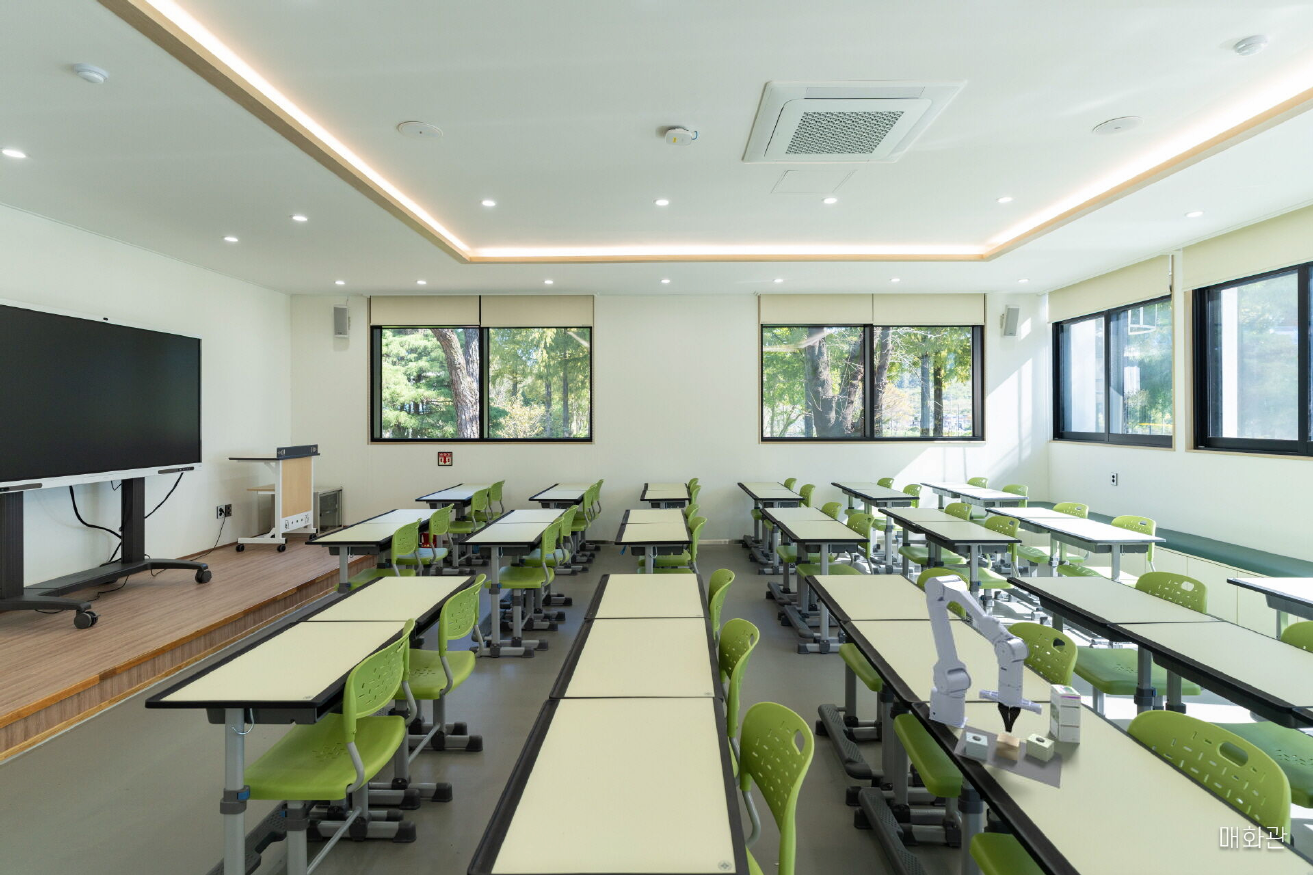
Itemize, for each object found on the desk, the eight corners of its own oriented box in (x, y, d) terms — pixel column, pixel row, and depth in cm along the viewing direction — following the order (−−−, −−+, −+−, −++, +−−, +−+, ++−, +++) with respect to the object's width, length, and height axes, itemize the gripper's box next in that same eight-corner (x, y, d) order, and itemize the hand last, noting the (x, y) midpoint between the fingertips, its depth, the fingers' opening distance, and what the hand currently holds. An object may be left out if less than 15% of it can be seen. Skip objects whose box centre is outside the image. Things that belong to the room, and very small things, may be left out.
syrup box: (1080, 744, 162) (1082, 694, 162) (1057, 742, 163) (1059, 692, 163) (1070, 733, 168) (1072, 685, 167) (1048, 731, 169) (1049, 683, 168)
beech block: (996, 754, 157) (996, 740, 156) (998, 745, 161) (999, 732, 160) (1017, 761, 154) (1018, 746, 153) (1019, 752, 158) (1020, 738, 157)
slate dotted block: (966, 754, 156) (966, 739, 156) (965, 745, 161) (966, 730, 161) (987, 760, 154) (987, 744, 154) (986, 750, 158) (986, 735, 158)
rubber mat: (953, 754, 157) (953, 752, 157) (965, 725, 172) (965, 724, 171) (1059, 789, 143) (1059, 787, 143) (1062, 755, 157) (1062, 754, 157)
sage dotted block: (1026, 753, 157) (1026, 738, 157) (1033, 746, 160) (1033, 732, 160) (1046, 762, 153) (1047, 746, 153) (1053, 755, 156) (1054, 740, 156)
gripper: (978, 680, 157) (976, 727, 158) (1041, 696, 149) (1039, 746, 149) (982, 670, 163) (980, 717, 164) (1042, 686, 154) (1041, 734, 155)
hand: (1008, 730), depth 157 cm, fingers closed
